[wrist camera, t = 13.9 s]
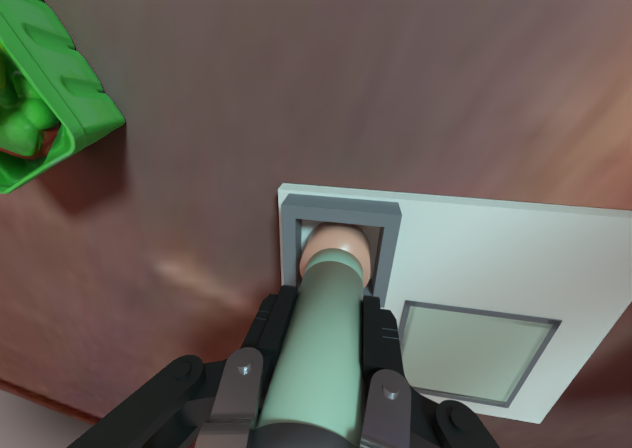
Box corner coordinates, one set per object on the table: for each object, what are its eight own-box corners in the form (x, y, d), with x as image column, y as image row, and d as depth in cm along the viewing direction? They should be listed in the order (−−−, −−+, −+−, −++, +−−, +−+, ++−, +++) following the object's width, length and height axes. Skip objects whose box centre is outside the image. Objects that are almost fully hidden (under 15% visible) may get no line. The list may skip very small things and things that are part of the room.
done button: (373, 222, 16) (374, 244, 14) (365, 275, 18) (366, 302, 16) (308, 216, 17) (299, 236, 14) (307, 268, 19) (299, 294, 16)
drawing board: (667, 213, 15) (732, 240, 12) (531, 408, 24) (552, 449, 21) (283, 183, 18) (268, 199, 15) (288, 368, 26) (280, 399, 24)
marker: (368, 250, 14) (379, 601, 4) (361, 299, 16) (358, 638, 6) (305, 243, 15) (191, 551, 5) (304, 291, 16) (217, 597, 6)
